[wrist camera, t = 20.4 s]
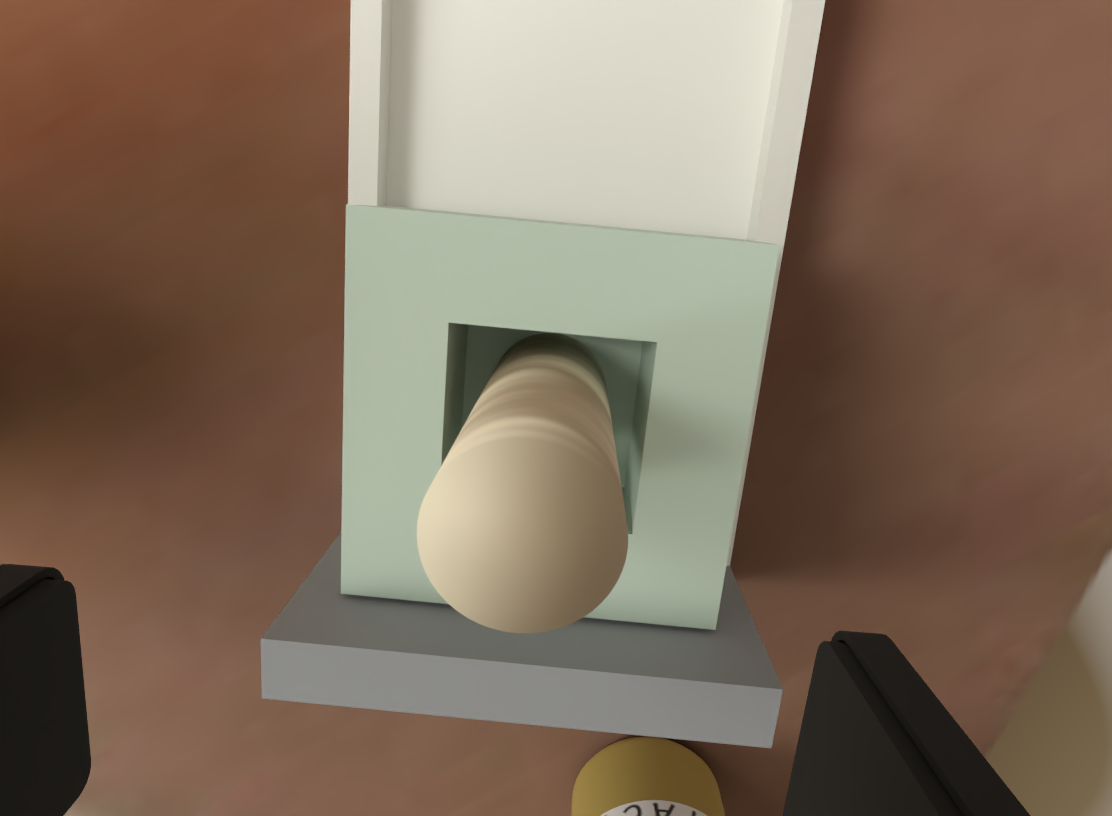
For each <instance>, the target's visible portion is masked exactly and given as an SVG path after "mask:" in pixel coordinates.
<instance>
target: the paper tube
mask: <svg viewBox="0 0 1112 816" xmlns="http://www.w3.org/2000/svg"><path fill="white" fill-rule="evenodd" d="M572 816H725V811H724V807H723V803H722V799H721V795H720V791H719V788H718V784H717V782H716V780H715V777H714V775H713V773H712V772H711V770H710V768H709V767H708V766H707V764H706V763H705V762H704V761H703V760H702V759H701V758H700V757H699V756H697V755H696V754H695V753H694V752H692V751H691V750H689V749H687V748H686V747H684V746H682V745H680V744H678V743H676V742H673V741H670V740H667V739H663V738H658V737H646V736H644V737H633V738H627V739H623V740H620V741H617V742H615V743H612V744H610V745H608V746H607V747H605V748H603V749H602V750H600V751H599V752H598V753H597V754H595V755H594V756H593V757H592V758H591V759H590V760H589V761H588V762H587V763H586V764H585V765H584V767H583V768H582V769H581V771H580V773H579V775H578V777H577V779H576V782H575V785H574V789H573V794H572Z"/></svg>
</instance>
